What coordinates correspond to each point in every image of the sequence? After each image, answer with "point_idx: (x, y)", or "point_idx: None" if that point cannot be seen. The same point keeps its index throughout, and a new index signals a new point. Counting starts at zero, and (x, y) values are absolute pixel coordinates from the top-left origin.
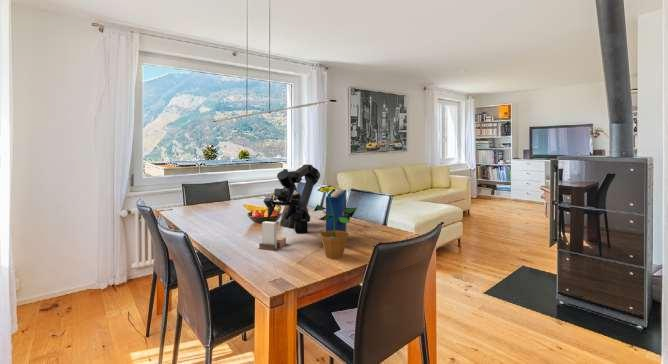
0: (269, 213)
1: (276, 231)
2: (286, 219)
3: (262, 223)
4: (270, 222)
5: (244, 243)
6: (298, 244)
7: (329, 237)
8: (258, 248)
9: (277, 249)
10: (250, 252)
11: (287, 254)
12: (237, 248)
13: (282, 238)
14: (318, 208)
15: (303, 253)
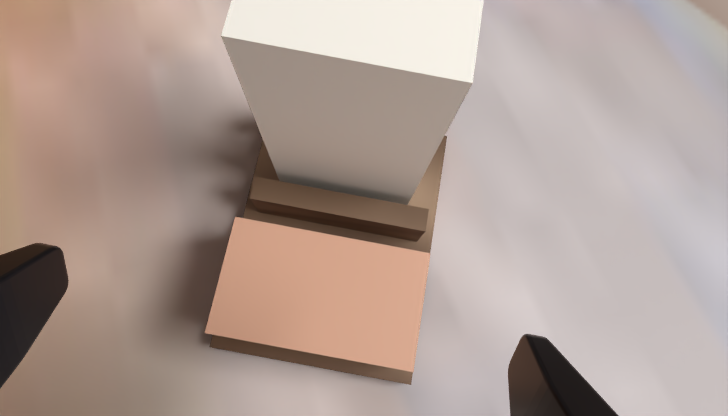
0: (557, 407)
1: (254, 111)
2: (47, 285)
3: (472, 7)
4: (332, 13)
5: (671, 335)
6: (103, 409)
7: None
8: (444, 148)
9: (264, 149)
10: (480, 92)
11: (159, 89)
12: (641, 173)
13: (238, 284)
14: None
15: (20, 133)
